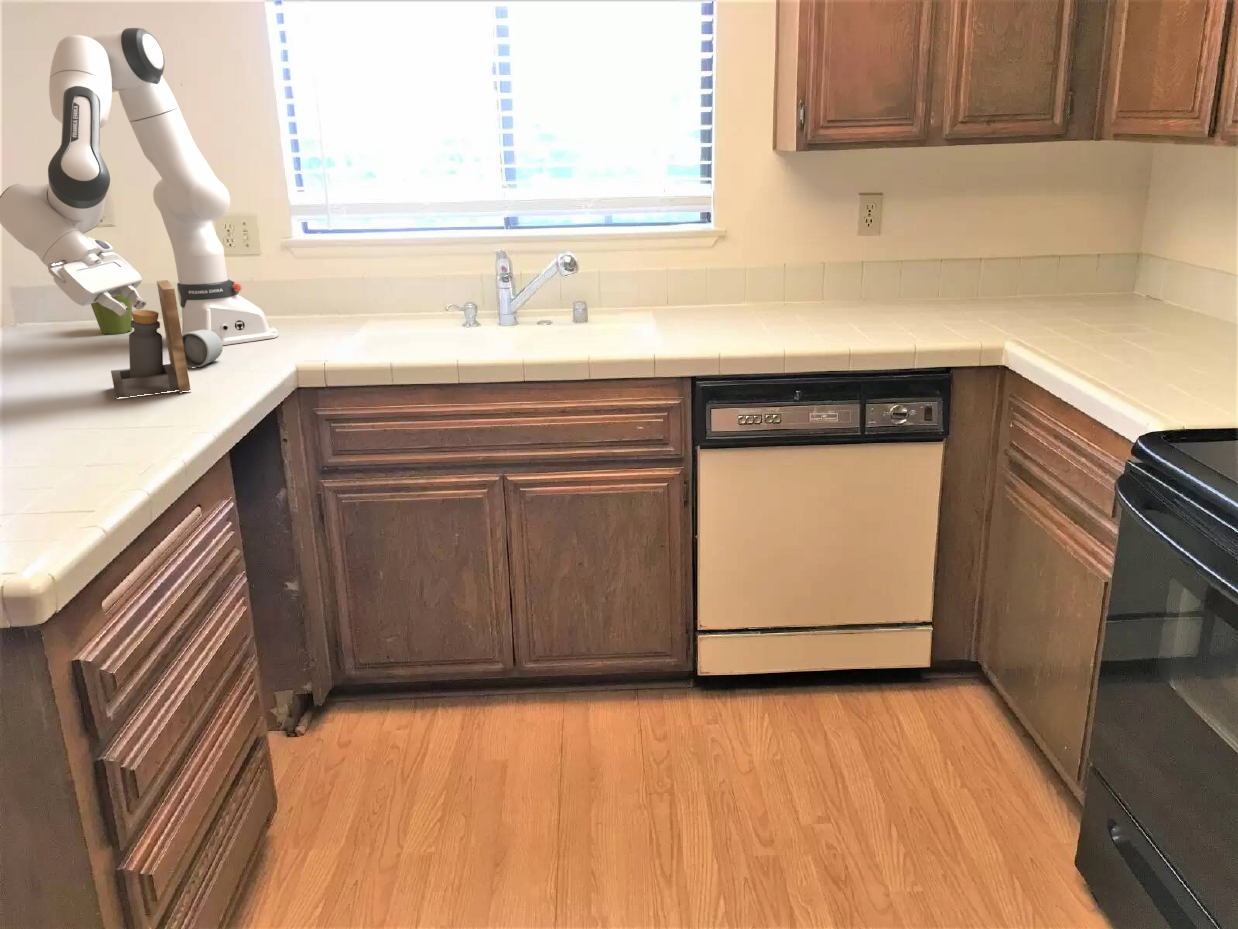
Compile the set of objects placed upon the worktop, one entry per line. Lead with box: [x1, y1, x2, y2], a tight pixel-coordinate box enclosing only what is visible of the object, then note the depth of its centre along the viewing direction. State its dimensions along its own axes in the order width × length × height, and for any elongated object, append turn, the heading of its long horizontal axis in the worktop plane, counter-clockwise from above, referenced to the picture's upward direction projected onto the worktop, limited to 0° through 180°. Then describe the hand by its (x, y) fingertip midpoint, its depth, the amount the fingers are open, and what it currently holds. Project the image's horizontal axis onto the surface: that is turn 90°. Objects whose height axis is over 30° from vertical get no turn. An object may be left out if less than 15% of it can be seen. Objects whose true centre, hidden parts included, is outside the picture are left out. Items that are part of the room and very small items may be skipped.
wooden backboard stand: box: [110, 279, 192, 399], centre depth 195 cm, size 13×14×20 cm
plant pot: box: [90, 295, 133, 335], centre depth 256 cm, size 12×12×11 cm
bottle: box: [128, 309, 164, 378], centre depth 195 cm, size 6×6×15 cm
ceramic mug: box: [168, 330, 224, 369], centre depth 218 cm, size 11×8×8 cm
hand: (133, 309), depth 192 cm, fingers open, 5 cm apart
